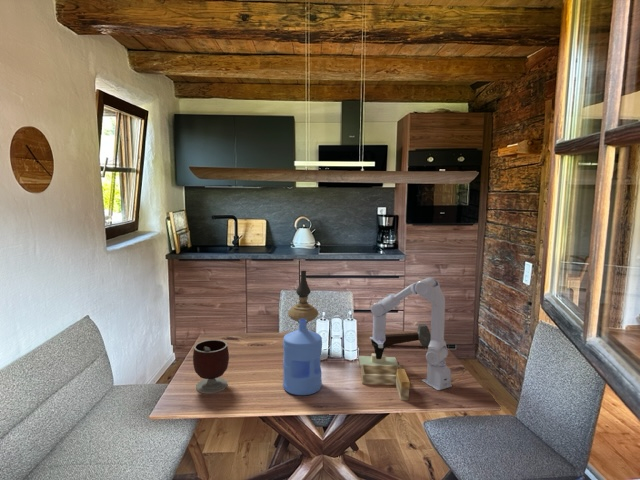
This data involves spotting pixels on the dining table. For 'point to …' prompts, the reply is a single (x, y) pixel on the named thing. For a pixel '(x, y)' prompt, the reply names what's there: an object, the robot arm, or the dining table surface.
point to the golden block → (403, 378)
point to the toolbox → (383, 377)
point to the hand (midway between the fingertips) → (378, 357)
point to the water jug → (302, 361)
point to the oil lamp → (303, 303)
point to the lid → (377, 360)
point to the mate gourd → (211, 365)
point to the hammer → (410, 337)
